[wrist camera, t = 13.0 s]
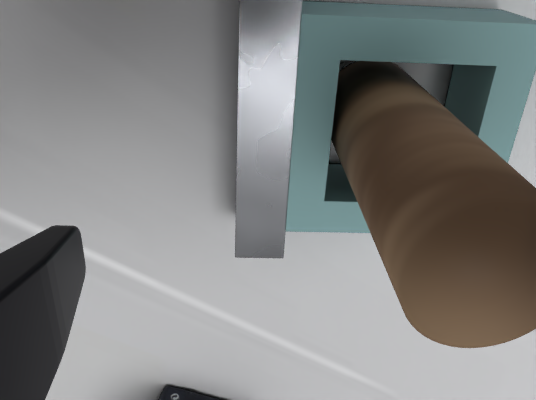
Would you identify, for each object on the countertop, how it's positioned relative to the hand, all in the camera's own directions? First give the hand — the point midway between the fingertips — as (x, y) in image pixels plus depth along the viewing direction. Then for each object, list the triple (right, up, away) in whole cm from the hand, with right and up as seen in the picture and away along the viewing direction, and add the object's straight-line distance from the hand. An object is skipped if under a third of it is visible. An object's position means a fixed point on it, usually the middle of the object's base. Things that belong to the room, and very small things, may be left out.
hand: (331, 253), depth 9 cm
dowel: (+3, +5, +12) cm, 14 cm away
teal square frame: (+4, +5, +12) cm, 14 cm away
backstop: (-1, +5, +12) cm, 13 cm away
